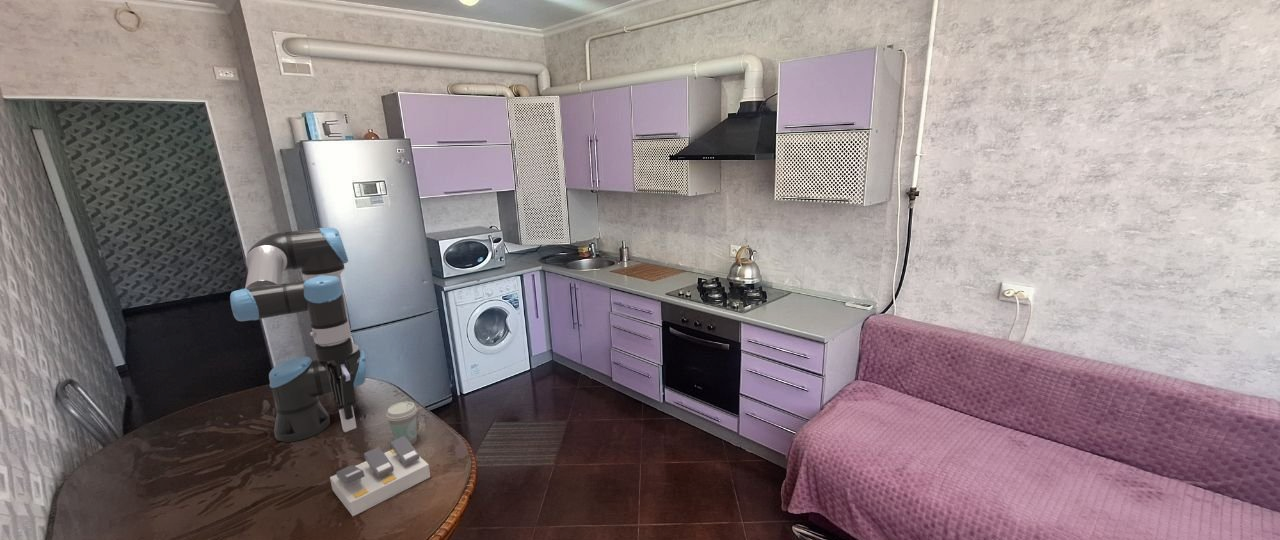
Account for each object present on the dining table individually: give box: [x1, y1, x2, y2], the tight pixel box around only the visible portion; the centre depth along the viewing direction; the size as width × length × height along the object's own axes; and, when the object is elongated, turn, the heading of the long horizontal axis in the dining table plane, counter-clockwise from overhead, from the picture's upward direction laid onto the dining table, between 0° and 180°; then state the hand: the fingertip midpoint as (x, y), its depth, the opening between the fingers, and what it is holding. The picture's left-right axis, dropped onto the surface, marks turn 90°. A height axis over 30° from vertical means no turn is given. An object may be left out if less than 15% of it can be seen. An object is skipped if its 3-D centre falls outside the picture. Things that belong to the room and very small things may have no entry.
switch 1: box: [335, 464, 365, 484], centre depth 132 cm, size 9×4×2 cm, turn 47°
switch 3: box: [389, 436, 420, 466], centre depth 141 cm, size 9×4×2 cm, turn 48°
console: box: [329, 448, 431, 517], centre depth 138 cm, size 15×20×6 cm
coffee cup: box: [386, 401, 418, 446], centre depth 156 cm, size 9×8×12 cm
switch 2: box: [363, 446, 394, 478], centre depth 136 cm, size 9×4×2 cm, turn 48°
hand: (349, 428), depth 127 cm, fingers closed
